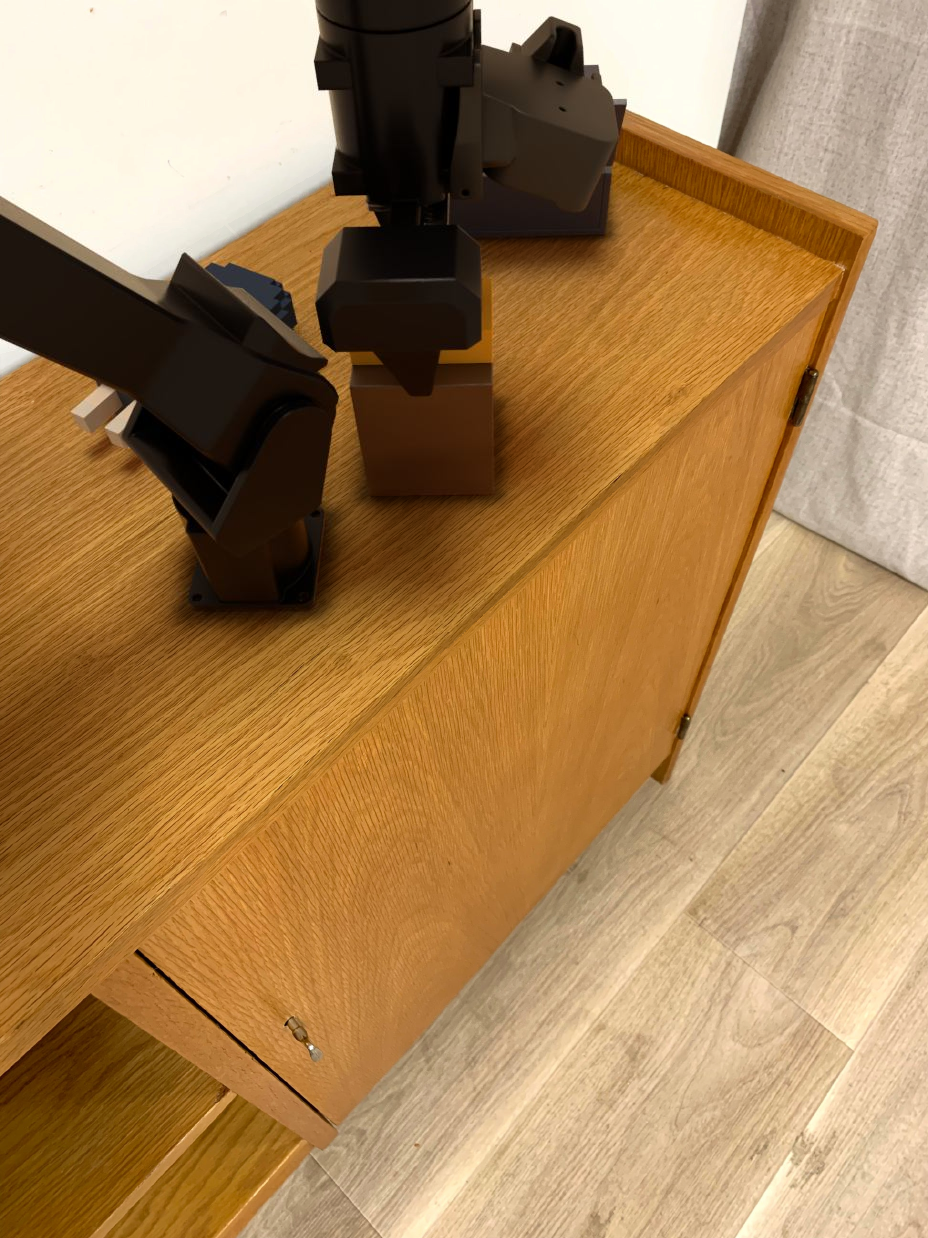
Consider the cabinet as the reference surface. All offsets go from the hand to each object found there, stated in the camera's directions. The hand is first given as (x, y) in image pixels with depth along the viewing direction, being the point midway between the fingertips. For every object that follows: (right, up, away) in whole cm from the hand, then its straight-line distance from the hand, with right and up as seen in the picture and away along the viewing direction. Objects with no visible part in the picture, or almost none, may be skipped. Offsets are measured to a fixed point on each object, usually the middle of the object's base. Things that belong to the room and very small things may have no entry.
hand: (423, 344), depth 45 cm
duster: (0, 0, 0) cm, 0 cm away
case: (+6, +18, +21) cm, 29 cm away
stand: (0, -4, +6) cm, 8 cm away
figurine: (-15, +1, +10) cm, 18 cm away
